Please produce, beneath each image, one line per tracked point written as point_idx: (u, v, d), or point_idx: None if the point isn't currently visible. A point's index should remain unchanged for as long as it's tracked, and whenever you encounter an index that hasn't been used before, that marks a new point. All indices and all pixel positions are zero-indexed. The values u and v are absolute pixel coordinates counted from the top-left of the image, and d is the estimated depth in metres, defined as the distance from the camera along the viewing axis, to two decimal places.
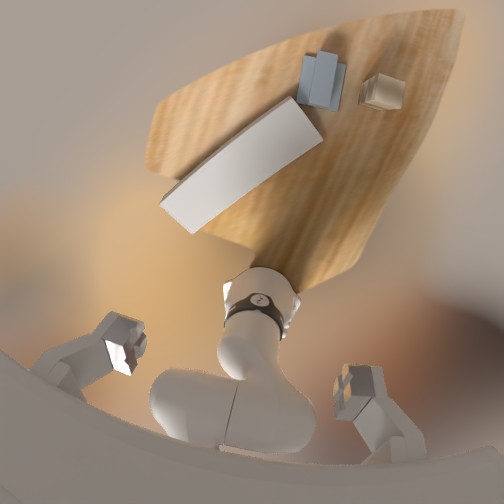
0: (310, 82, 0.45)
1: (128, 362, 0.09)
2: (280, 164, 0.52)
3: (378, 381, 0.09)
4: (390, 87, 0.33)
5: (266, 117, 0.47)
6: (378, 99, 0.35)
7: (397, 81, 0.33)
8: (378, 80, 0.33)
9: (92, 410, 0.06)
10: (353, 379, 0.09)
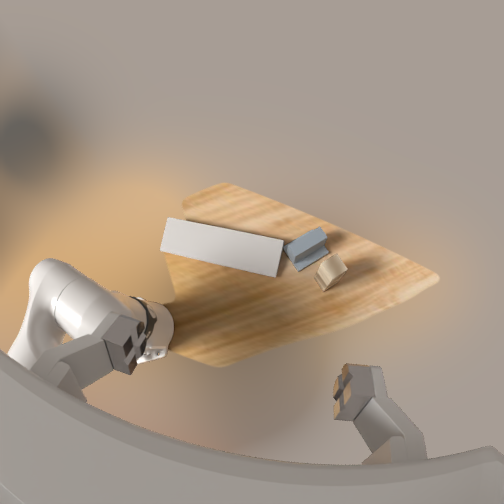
0: None
1: (128, 362, 0.09)
2: (241, 266, 0.76)
3: (378, 381, 0.09)
4: (336, 264, 0.63)
5: (261, 236, 0.76)
6: (323, 265, 0.63)
7: (343, 264, 0.63)
8: (332, 256, 0.64)
9: (92, 410, 0.06)
10: (353, 379, 0.09)
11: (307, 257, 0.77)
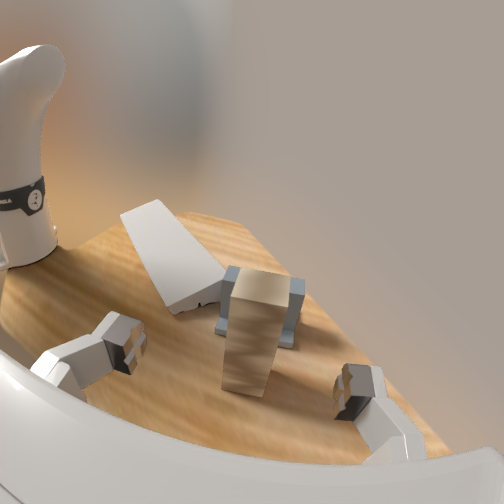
0: None
1: (128, 362, 0.09)
2: (151, 268, 0.43)
3: (378, 381, 0.09)
4: (269, 286, 0.24)
5: (210, 256, 0.44)
6: (241, 271, 0.25)
7: (285, 295, 0.23)
8: (276, 274, 0.26)
9: (92, 410, 0.06)
10: (353, 379, 0.09)
11: None
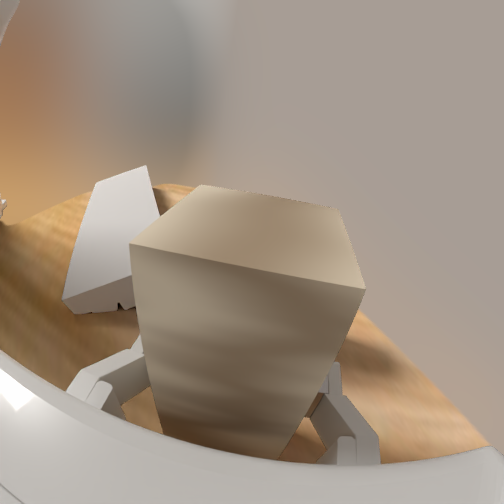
0: None
1: None
2: (81, 242, 0.26)
3: (334, 377, 0.09)
4: (281, 222, 0.07)
5: None
6: (199, 191, 0.09)
7: (340, 249, 0.06)
8: (299, 203, 0.09)
9: (92, 410, 0.06)
10: None
11: None
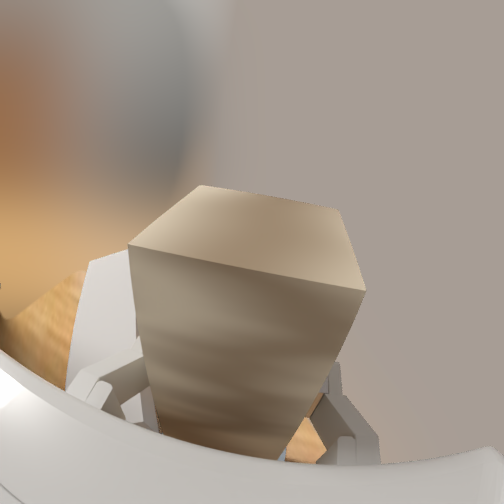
0: None
1: None
2: (72, 364, 0.27)
3: (333, 377, 0.09)
4: (280, 223, 0.07)
5: None
6: (199, 191, 0.09)
7: (341, 251, 0.06)
8: (299, 204, 0.09)
9: (92, 410, 0.06)
10: None
11: None
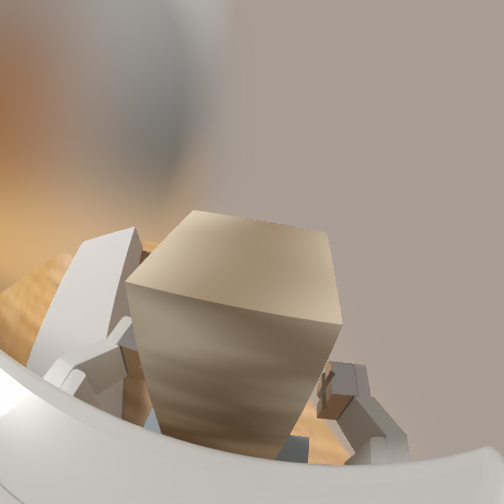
0: None
1: None
2: (36, 350, 0.21)
3: (361, 380, 0.09)
4: (267, 253, 0.07)
5: None
6: (191, 217, 0.09)
7: (323, 282, 0.07)
8: (288, 228, 0.09)
9: (92, 410, 0.06)
10: (335, 377, 0.09)
11: None
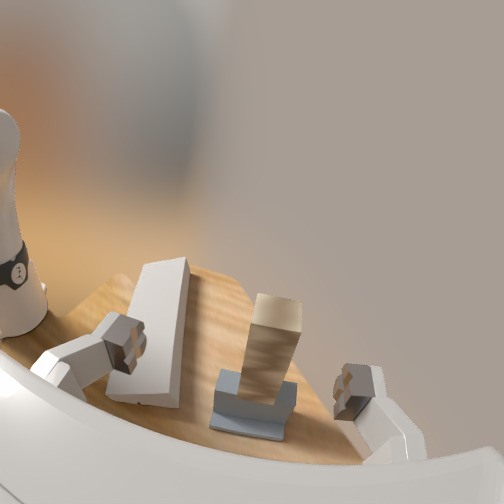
0: None
1: (128, 362, 0.09)
2: None
3: (378, 381, 0.09)
4: (283, 312, 0.26)
5: (170, 359, 0.38)
6: (258, 297, 0.28)
7: (298, 321, 0.25)
8: (289, 300, 0.28)
9: (92, 410, 0.06)
10: (353, 379, 0.09)
11: (242, 420, 0.34)
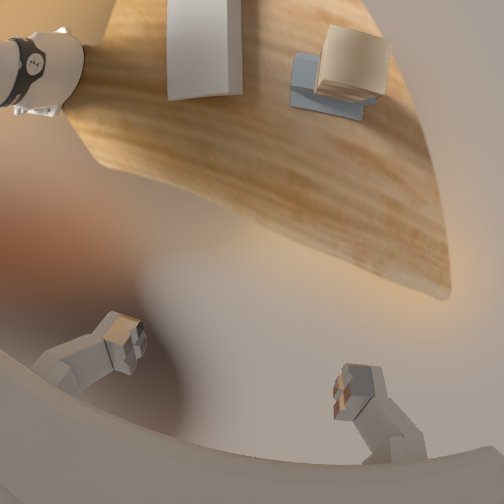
0: None
1: (128, 362, 0.09)
2: (171, 40, 0.31)
3: (378, 381, 0.09)
4: (366, 59, 0.15)
5: (226, 50, 0.29)
6: (332, 32, 0.15)
7: (383, 75, 0.15)
8: (374, 37, 0.14)
9: (92, 410, 0.06)
10: (353, 379, 0.09)
11: (321, 98, 0.33)
